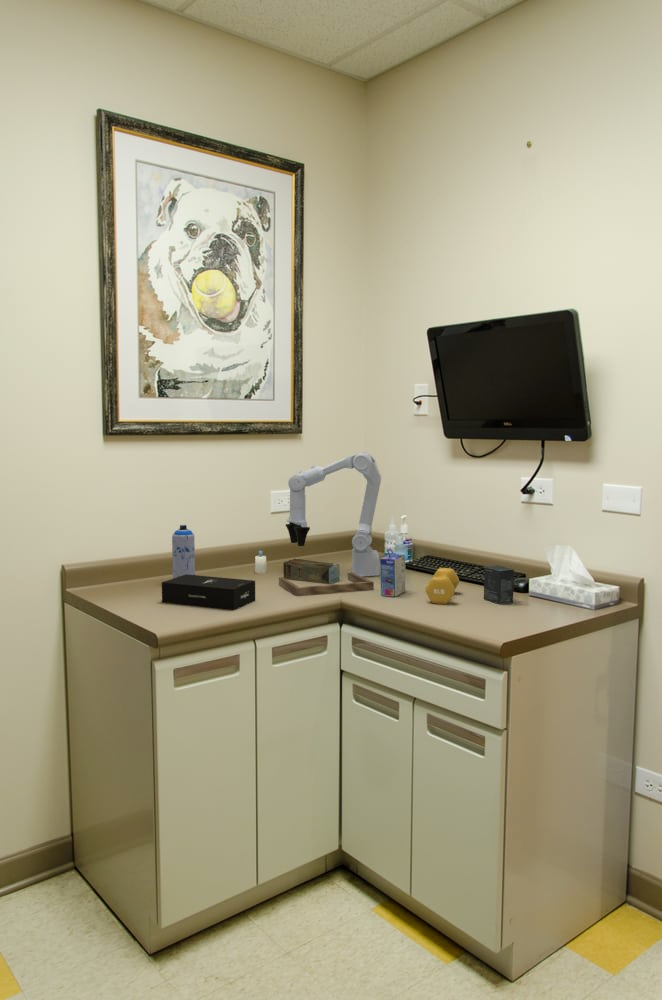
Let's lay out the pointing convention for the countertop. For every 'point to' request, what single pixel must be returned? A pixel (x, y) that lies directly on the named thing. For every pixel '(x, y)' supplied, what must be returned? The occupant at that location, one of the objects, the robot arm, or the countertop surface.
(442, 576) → the dumbbell
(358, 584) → the display bay
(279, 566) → the countertop surface
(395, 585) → the ink cartridge box
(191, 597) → the box
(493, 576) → the box
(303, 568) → the beverage carton
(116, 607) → the countertop surface
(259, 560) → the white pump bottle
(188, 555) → the aerosol can
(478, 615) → the countertop surface
